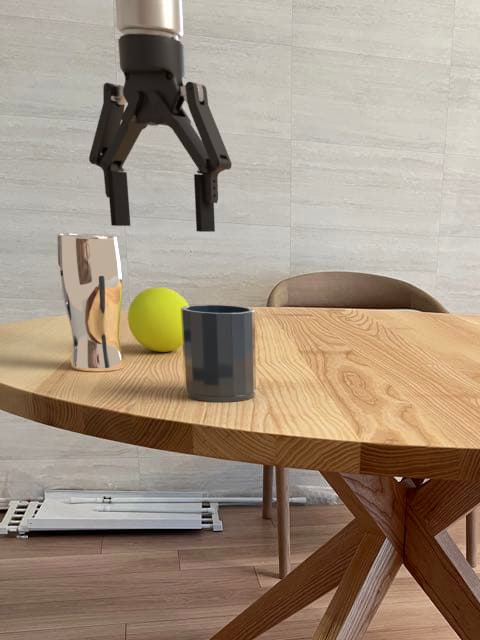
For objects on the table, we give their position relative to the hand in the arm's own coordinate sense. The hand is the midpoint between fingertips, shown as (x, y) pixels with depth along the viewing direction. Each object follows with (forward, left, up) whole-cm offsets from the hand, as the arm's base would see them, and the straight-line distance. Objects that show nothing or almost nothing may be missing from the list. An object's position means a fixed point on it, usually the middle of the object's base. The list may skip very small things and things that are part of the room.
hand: (162, 228), depth 106 cm
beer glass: (+1, -14, -16) cm, 21 cm away
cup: (+21, -17, -16) cm, 31 cm away
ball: (-1, 0, -16) cm, 16 cm away
